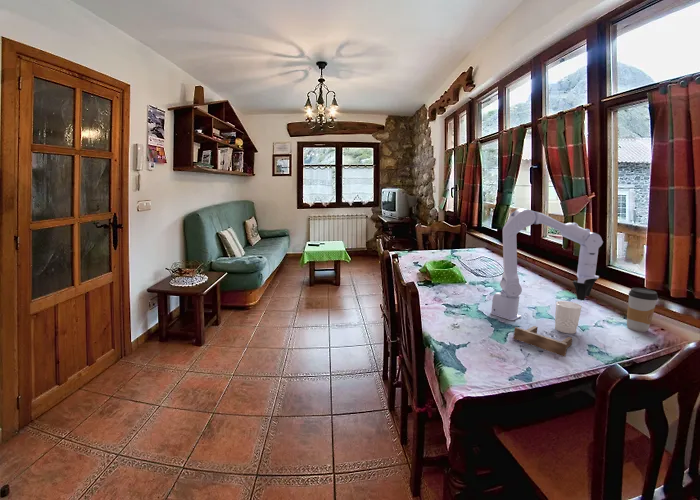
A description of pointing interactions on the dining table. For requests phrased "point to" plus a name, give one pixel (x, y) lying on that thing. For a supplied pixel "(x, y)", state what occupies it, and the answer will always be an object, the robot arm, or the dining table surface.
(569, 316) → the white cup
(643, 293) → the coffee cup
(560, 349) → the bar
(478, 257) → the dining table surface
